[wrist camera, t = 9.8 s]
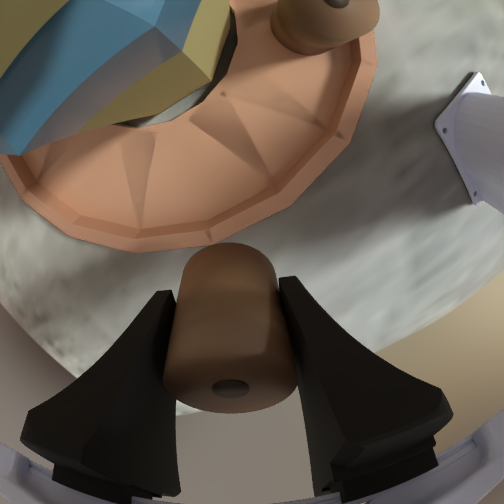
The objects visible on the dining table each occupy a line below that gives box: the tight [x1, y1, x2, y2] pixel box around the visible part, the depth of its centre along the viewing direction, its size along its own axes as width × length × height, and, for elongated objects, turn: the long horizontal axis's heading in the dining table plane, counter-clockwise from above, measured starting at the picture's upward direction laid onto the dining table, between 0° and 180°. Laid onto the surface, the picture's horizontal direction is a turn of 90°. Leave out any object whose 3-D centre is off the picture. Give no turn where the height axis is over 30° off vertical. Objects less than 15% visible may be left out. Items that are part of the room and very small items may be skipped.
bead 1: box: [163, 243, 298, 413], centre depth 9 cm, size 4×4×5 cm
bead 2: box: [270, 0, 380, 55], centre depth 9 cm, size 4×4×5 cm
